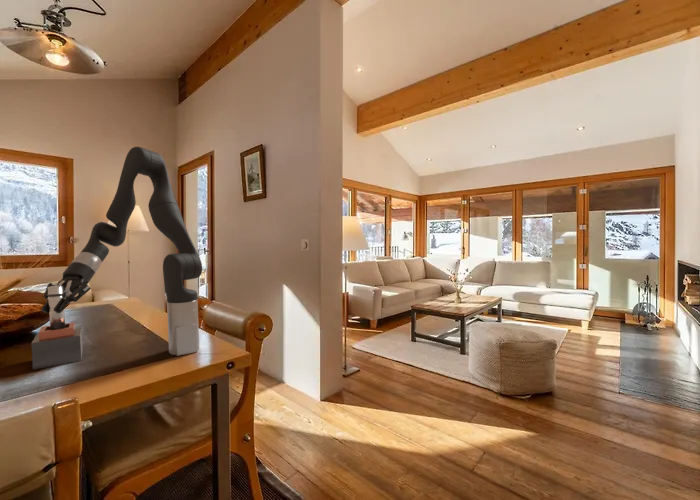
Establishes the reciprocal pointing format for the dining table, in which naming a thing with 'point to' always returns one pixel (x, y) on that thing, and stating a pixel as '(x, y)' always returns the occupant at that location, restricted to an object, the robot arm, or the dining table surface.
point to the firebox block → (57, 346)
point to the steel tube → (54, 297)
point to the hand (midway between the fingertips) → (50, 311)
